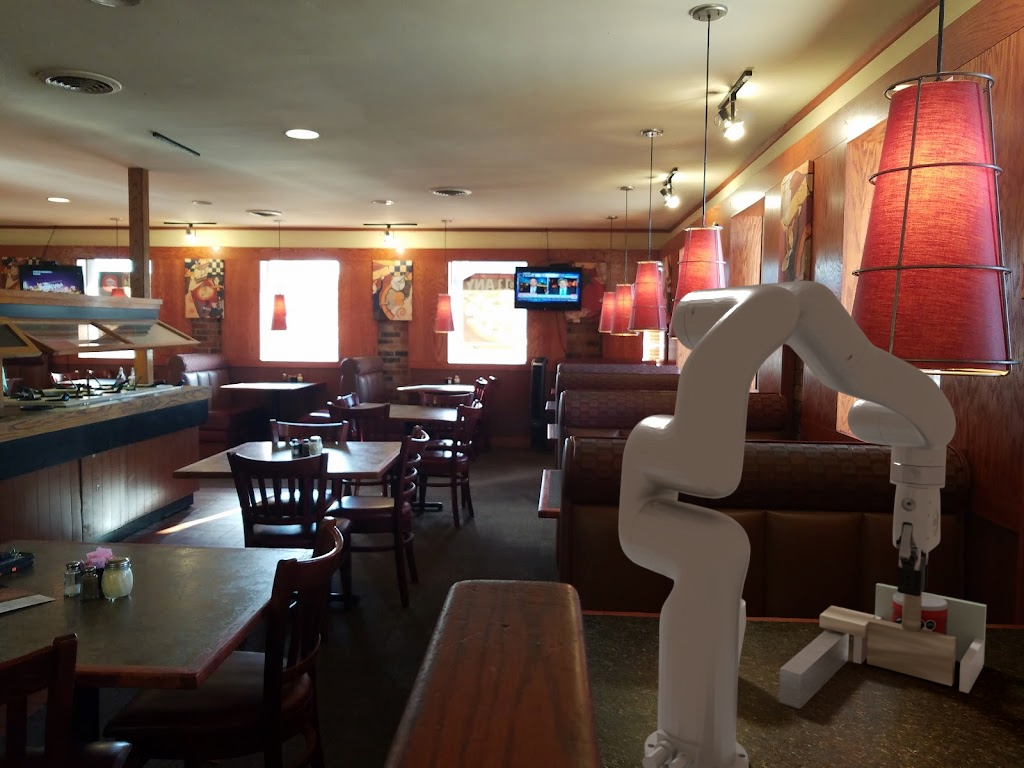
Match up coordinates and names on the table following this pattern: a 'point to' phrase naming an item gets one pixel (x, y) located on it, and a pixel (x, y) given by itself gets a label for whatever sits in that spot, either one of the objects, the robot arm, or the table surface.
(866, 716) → the table surface
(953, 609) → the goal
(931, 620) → the canned food
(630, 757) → the table surface
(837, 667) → the rail
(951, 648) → the kicker figure
